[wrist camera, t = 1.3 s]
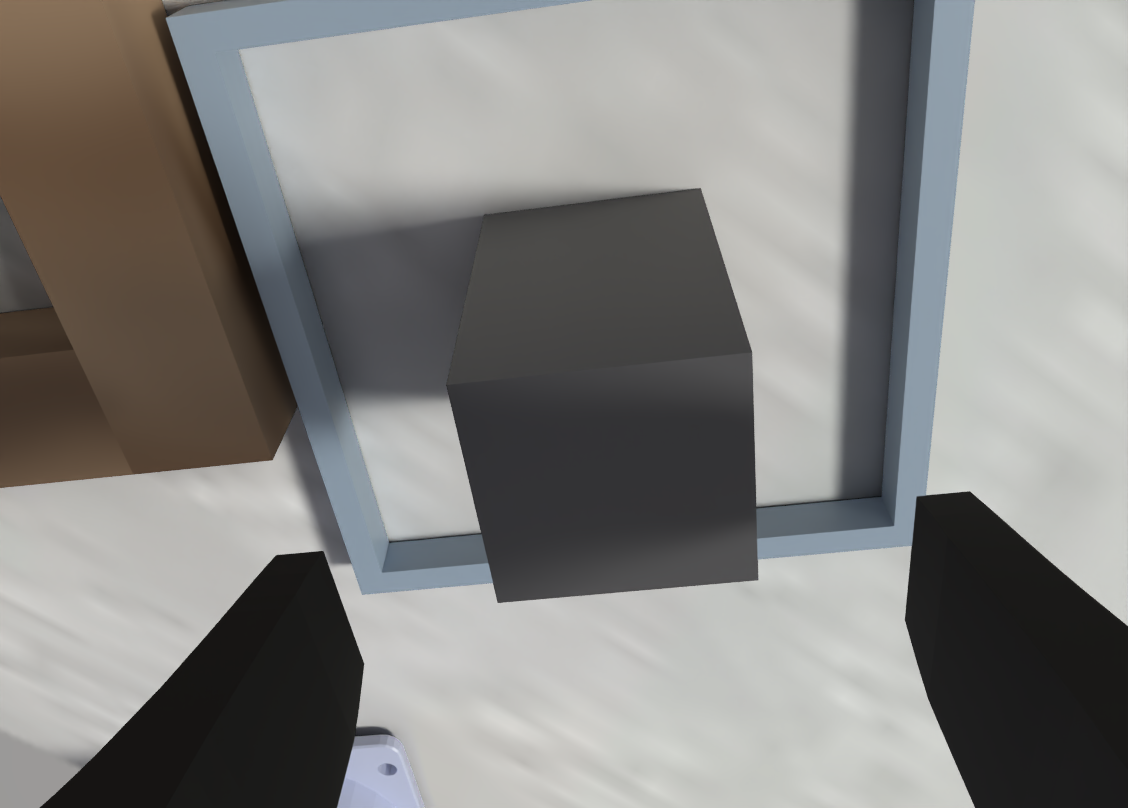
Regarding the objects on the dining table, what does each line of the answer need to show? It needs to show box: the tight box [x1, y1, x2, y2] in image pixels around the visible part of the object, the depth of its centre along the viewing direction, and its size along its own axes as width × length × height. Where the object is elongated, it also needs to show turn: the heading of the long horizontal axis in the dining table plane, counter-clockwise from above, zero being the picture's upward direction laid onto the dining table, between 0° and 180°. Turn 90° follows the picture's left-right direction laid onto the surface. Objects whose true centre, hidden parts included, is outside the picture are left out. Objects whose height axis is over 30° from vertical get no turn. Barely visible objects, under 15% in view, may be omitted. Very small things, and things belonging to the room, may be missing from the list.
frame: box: [166, 0, 975, 595], centre depth 18 cm, size 12×12×1 cm
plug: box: [446, 188, 758, 603], centre depth 16 cm, size 4×4×6 cm
